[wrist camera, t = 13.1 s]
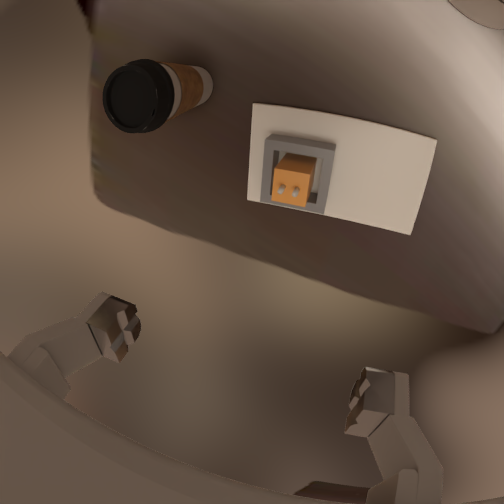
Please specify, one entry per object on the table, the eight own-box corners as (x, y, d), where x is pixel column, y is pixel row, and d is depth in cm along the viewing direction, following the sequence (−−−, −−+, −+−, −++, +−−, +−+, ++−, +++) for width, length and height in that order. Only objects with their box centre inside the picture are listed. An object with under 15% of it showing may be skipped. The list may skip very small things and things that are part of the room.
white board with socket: (255, 102, 37) (244, 106, 34) (435, 138, 32) (444, 146, 29) (249, 197, 45) (239, 209, 42) (409, 231, 40) (413, 248, 37)
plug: (286, 152, 39) (270, 172, 32) (317, 158, 38) (308, 179, 31) (283, 180, 41) (267, 206, 34) (312, 186, 40) (302, 213, 34)
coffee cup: (207, 123, 41) (146, 151, 29) (161, 100, 41) (90, 120, 29) (231, 71, 36) (172, 75, 24) (181, 49, 36) (109, 51, 24)
